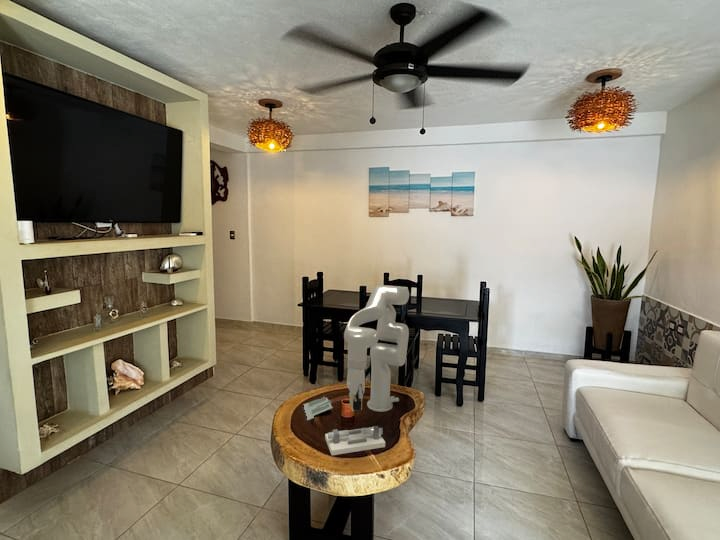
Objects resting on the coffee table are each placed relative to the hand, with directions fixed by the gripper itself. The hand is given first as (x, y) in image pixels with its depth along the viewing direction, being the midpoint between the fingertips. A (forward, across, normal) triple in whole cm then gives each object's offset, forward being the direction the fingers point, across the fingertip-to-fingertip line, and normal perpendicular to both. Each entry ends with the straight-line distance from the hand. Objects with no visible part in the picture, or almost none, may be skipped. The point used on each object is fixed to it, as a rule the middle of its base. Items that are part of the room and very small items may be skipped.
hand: (355, 406), depth 147 cm
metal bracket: (+16, -30, -9) cm, 35 cm away
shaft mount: (+15, 0, 0) cm, 15 cm away
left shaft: (+13, +1, +7) cm, 15 cm away
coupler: (+1, 0, 0) cm, 1 cm away
